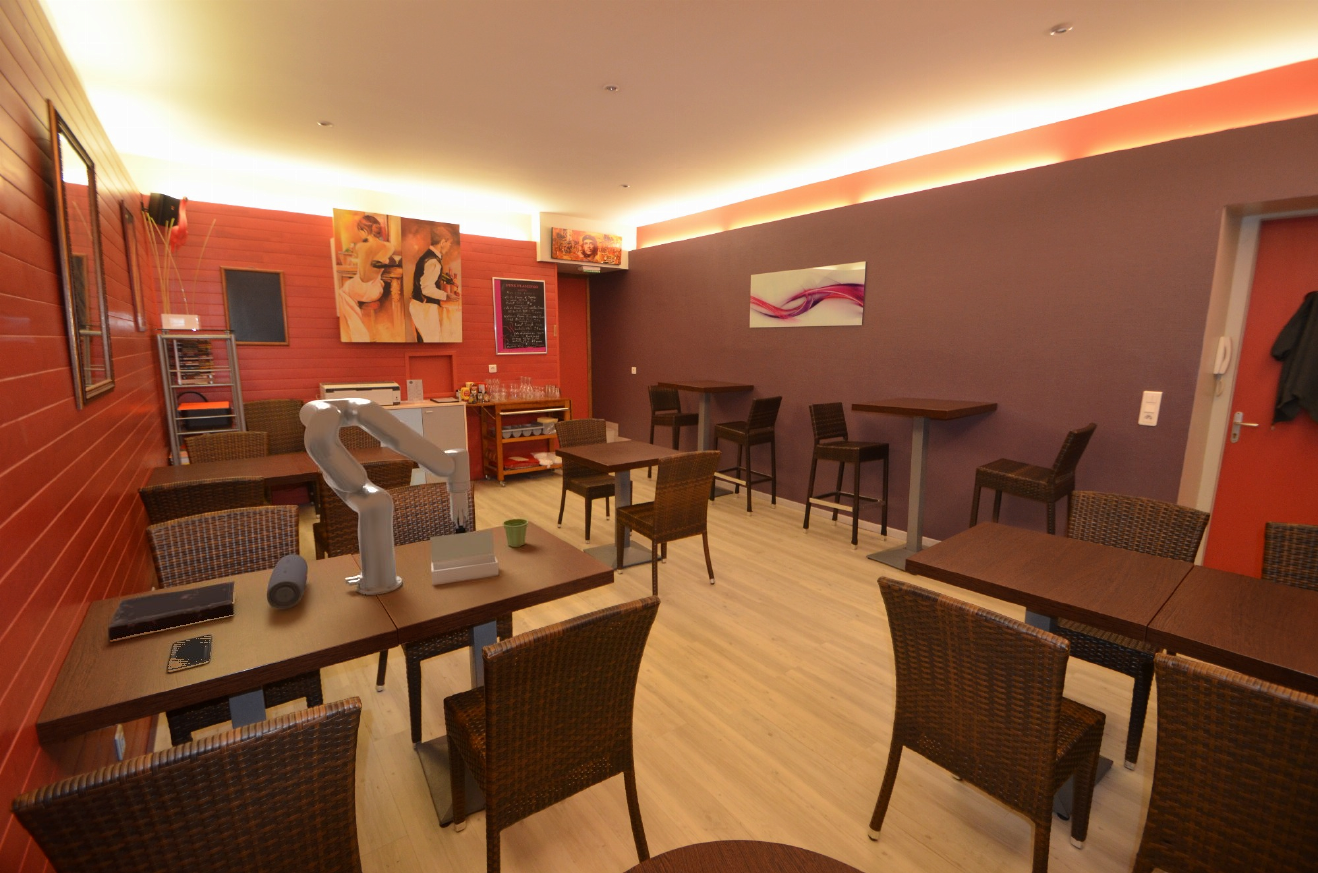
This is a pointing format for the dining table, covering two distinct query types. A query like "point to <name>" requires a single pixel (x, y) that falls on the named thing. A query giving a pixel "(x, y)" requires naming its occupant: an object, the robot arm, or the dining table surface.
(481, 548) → the cover
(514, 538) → the plant pot
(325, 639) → the dining table surface
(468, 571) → the white hinged box
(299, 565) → the bluetooth speaker
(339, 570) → the dining table surface
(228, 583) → the diary
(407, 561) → the dining table surface
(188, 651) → the phone
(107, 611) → the dining table surface
